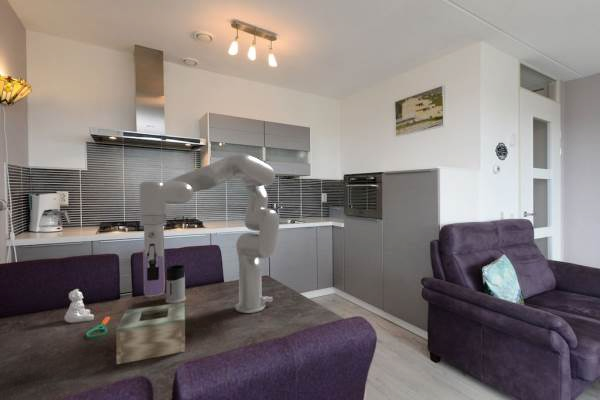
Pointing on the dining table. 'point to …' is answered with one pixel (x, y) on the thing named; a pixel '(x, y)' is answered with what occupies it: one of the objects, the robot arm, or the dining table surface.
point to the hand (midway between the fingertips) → (154, 276)
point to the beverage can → (154, 286)
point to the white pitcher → (175, 284)
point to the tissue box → (151, 332)
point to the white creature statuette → (77, 309)
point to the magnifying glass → (99, 329)
